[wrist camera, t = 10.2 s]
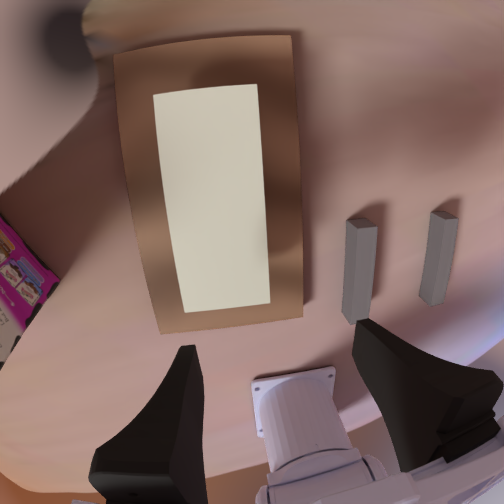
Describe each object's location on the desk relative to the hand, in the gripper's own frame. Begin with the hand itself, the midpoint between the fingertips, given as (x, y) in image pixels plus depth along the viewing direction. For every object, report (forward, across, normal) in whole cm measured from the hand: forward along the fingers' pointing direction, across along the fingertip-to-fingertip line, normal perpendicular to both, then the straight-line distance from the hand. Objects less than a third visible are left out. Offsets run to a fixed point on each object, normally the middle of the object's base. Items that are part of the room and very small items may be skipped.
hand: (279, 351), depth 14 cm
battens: (+10, -12, +2) cm, 16 cm away
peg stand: (+10, +2, -5) cm, 12 cm away
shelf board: (+7, +2, -5) cm, 9 cm away
